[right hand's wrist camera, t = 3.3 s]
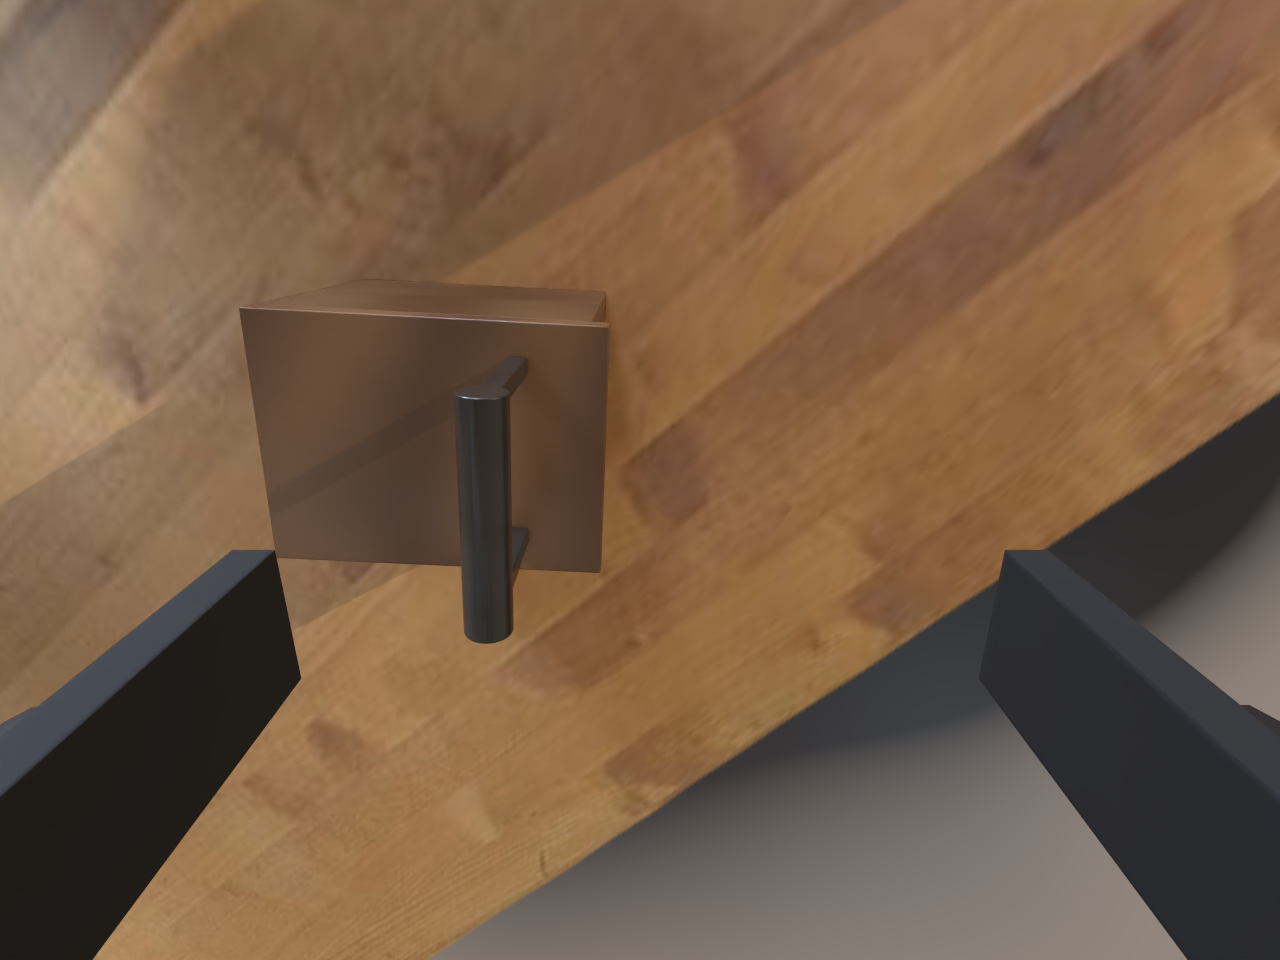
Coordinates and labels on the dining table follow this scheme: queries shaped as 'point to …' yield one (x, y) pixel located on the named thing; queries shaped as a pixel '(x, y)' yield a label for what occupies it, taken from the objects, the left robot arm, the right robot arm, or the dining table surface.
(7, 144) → the dining table surface
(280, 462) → the lid
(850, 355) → the dining table surface
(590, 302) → the chest
